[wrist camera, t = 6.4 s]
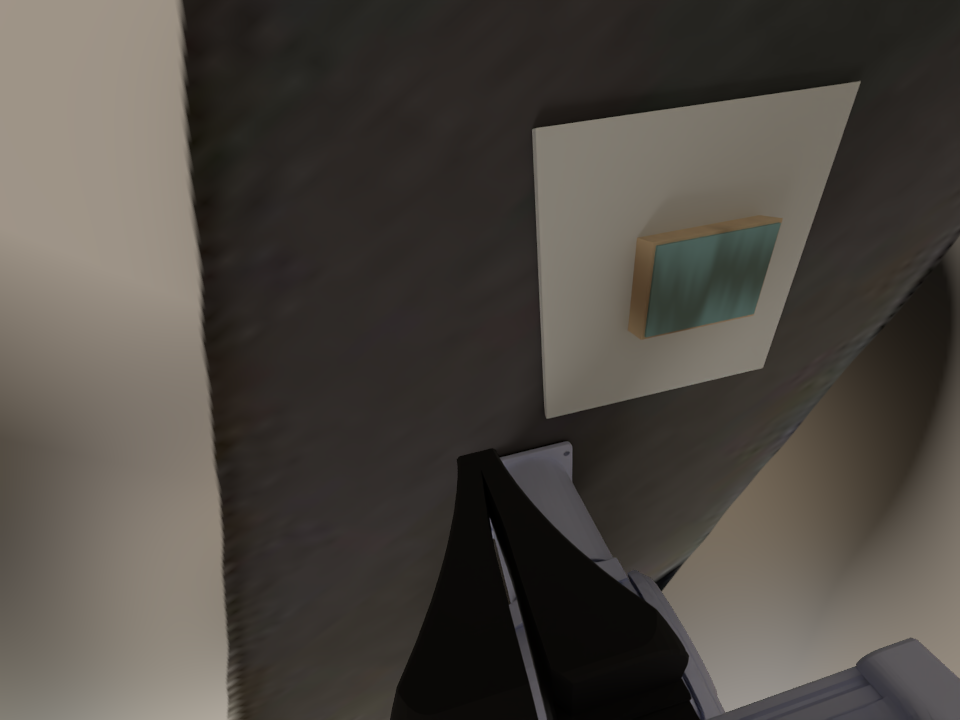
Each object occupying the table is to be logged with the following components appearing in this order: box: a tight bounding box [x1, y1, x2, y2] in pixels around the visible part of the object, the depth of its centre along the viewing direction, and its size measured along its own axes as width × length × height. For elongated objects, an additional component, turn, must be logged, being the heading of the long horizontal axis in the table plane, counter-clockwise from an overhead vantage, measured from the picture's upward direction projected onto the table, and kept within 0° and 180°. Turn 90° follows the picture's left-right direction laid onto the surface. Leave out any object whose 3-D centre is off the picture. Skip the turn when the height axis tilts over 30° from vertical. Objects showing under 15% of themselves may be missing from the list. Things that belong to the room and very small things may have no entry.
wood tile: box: [628, 215, 783, 340], centre depth 21 cm, size 6×2×8 cm
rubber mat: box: [532, 81, 861, 419], centre depth 22 cm, size 18×18×1 cm
